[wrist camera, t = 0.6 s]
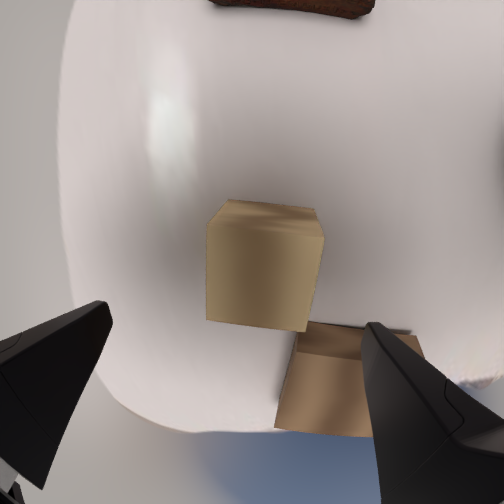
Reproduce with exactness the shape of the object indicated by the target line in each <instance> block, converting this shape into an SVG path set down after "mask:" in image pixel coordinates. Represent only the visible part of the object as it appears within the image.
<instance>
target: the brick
mask: <svg viewBox="0 0 504 504" xmlns="http://www.w3.org/2000/svg"><path fill="white" fill-rule="evenodd" d="M209 1H211V2H213V3H216V4H219V5H223V6H228V5H231V6H235V5H248V6H257V7H267V8H281V9H292V10H300V11H308V12H315V13H321V14H327V15H333V16H338V17H343V18H348V19H355V18H357V17H359V16H363V15H366V14H369V13H370V12H371V10H372V8H374V6H375V0H209Z"/></svg>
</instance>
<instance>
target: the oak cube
mask: <svg viewBox="0 0 504 504" xmlns="http://www.w3.org/2000/svg"><path fill="white" fill-rule="evenodd" d="M324 240H325V237H324V235H323V232H322V229H321V227H320V224H319V221H318V219H317V216H316V213H315V211H314V209H312V208H304V207H296V206H287V205H279V204H270V203H260V202H251V201H240V200H230V199H228V200H227V202H226V203H225V204H224V205H223V206H222V207H221V209H220V210H219V211H218V212H217V213H216V215H215V216H214V217H213V218H212V219H211V220H210V222H209V223H208V224H207V236H206V320H210V321H217V322H224V323H231V324H238V325H245V326H253V327H261V328H269V329H278V330H287V331H297V332H305V331H306V327H307V323H308V318H309V314H310V309H311V305H312V300H313V296H314V291H315V286H316V282H317V277H318V272H319V267H320V261H321V256H322V251H323V245H324Z"/></svg>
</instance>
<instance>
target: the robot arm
mask: <svg viewBox="0 0 504 504" xmlns="http://www.w3.org/2000/svg"><path fill="white" fill-rule="evenodd" d="M112 325H113V320H112V316H111V313H110V309H109V306H108V304H107V302H105V301H99V300H97V301H94V302H92V303H89V304H87V305H84V306H82V307H80V308H77V309H75V310H73V311H70V312H68V313H65V314H63V315H61V316H58V317H57V318H54V319H51V320H49V321H47V322H44V323H42V324H40V325H37V326H35V327H33V328H31V329H28V330H26V331H24V332H21V333H19V334H17V335H14V336H12V337H9V338H7V339H4V340H2V341H0V504H25V503H24V500H23V496H22V492H21V489H20V485H19V484H18V483H17V482H16V481H15V479H16V477H17V475H18V474H20V475H21V476H22V477H24V478H25V479H26V480H28V481H29V482H31V483H32V484H33V485H35V486H36V487H38V488H39V489H41V490H42V489H43V487H44V485H45V482H46V479H47V476H48V473H49V471H50V468H51V465H52V462H53V460H54V457H55V455H56V452H57V449H58V446H59V444H60V442H61V439H62V437H63V434H64V432H65V430H66V427H67V425H68V423H69V420H70V418H71V416H72V414H73V411H74V409H75V407H76V405H77V402H78V401H79V398H80V396H81V394H82V392H83V390H84V388H85V386H86V384H87V382H88V380H89V378H90V375H91V374H92V372H93V370H94V368H95V366H96V364H97V362H98V360H99V357H100V355H101V353H102V350H103V348H104V345H105V343H106V340H107V338H108V335H109V333H110V330H111V328H112ZM361 357H362V367H363V379H364V388H365V394H366V399H367V404H368V410H369V415H370V421H371V427H372V433H373V439H374V445H375V452H376V459H377V467H378V474H379V484H380V493H381V498H382V499H381V504H504V419H502V418H501V417H500V416H498V415H497V414H495V413H494V412H492V411H491V410H490V409H488V408H487V407H485V406H484V405H482V404H481V403H479V402H478V401H477V400H475V399H474V398H472V397H471V396H470V395H468V394H467V393H466V392H464V391H463V390H462V389H461V388H459V387H458V386H457V385H456V384H454V383H453V382H452V381H451V380H450V379H448V378H447V377H446V376H445V375H444V374H442V373H441V372H440V371H439V370H438V369H436V368H435V367H434V366H433V365H432V364H430V363H429V362H428V361H427V360H425V359H424V358H423V357H422V356H421V355H419V354H418V353H417V352H416V351H414V350H413V349H412V348H411V347H410V346H408V345H407V344H406V343H405V342H403V341H402V340H401V339H400V338H398V337H397V336H396V335H395V334H393V333H392V332H391V331H390V330H388V329H387V328H386V327H385V326H383V325H382V324H381V323H379V322H368V323H367V324H366V326H365V330H364V333H363V337H362V340H361Z"/></svg>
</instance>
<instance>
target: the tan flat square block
mask: <svg viewBox="0 0 504 504" xmlns="http://www.w3.org/2000/svg"><path fill="white" fill-rule="evenodd" d="M363 333H364V330H362V329H355V328H347V327H340V326H334V325H327V324H321V323H314V322H308V323H307V327H306V331H305V332H297V334H296V338H295V342H294V346H293V350H292V354H291V358H290V362H289V366H288V369H287V373H286V377H285V381H284V384H283V388H282V391H281V395H280V398H279V404H278V409H277V414H276V419H275V424H274V428H279V429H286V430H292V431H300V432H308V433H316V434H326V435H339V436H356V437H373V433H372V427H371V421H370V415H369V410H368V404H367V399H366V394H365V388H364V379H363V367H362V357H361V340H362V337H363ZM393 334H395V333H393ZM395 335H396V336H397V337H398V338H400V339H401V340H402V341H403V342H405V343H406V344H407V345H408V346H410V347H411V348H412V349H413V350H414V351H416V352H417V353H418V354H419V355H421V356H422V357H423V358H424V359H425V357H424V354H423V352H422V349H421V347H420V344H419V341H418V339H417V336H413V335H404V334H395Z"/></svg>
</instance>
